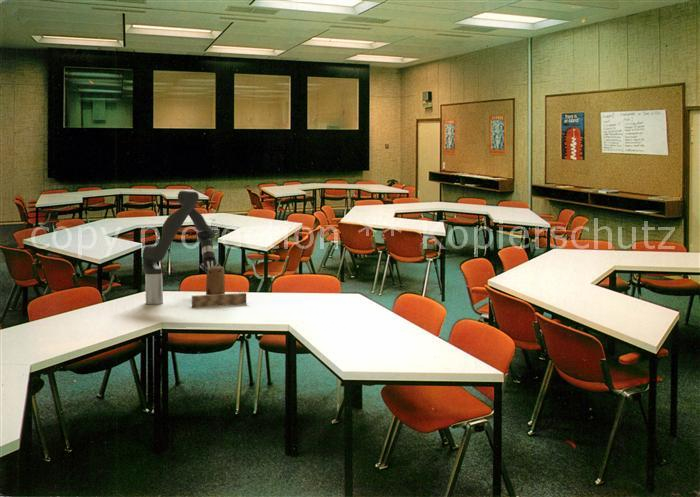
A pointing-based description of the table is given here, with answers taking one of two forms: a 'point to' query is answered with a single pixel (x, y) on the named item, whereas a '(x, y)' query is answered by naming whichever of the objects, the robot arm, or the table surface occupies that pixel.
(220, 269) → the block
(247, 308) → the table surface
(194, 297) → the board
